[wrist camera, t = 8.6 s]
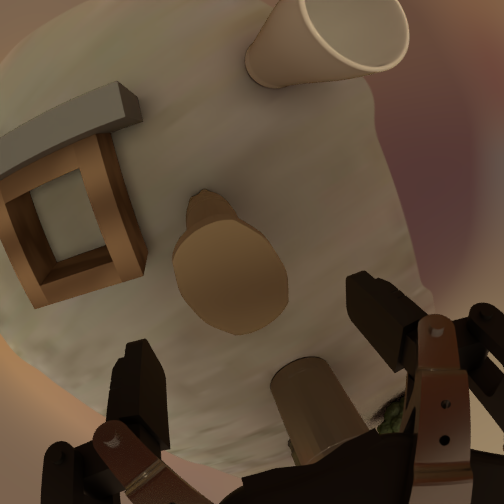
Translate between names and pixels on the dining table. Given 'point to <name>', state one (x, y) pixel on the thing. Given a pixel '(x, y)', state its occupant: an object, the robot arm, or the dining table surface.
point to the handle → (228, 268)
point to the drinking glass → (327, 41)
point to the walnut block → (106, 212)
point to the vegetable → (392, 418)
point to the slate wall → (68, 125)
